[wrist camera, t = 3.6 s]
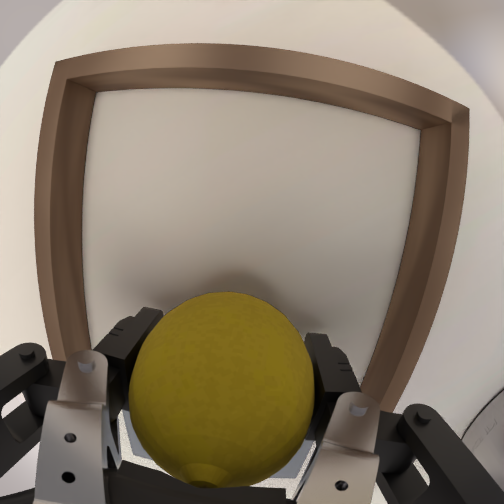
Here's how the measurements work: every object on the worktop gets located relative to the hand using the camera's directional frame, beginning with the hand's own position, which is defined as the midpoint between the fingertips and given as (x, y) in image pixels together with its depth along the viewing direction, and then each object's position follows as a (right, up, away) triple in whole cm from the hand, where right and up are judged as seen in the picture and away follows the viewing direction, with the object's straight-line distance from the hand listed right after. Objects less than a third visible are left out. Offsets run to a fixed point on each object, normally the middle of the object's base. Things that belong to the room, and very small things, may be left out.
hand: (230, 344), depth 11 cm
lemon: (0, 0, +2) cm, 2 cm away
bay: (0, +4, +1) cm, 4 cm away
